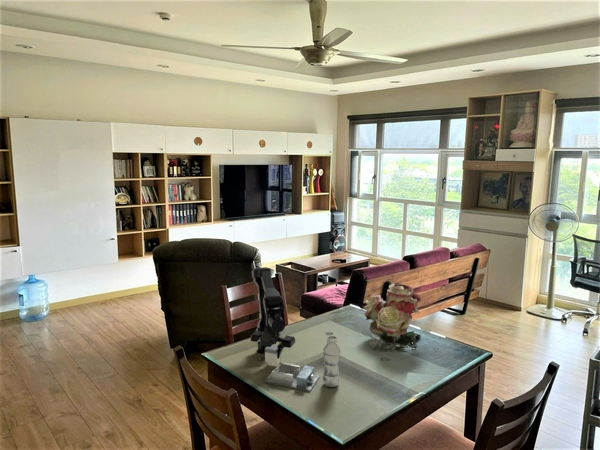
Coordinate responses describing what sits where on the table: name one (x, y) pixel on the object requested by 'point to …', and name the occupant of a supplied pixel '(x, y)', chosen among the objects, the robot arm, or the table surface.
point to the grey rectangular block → (271, 354)
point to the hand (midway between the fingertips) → (272, 357)
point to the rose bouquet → (392, 319)
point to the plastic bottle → (331, 362)
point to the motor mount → (293, 377)
